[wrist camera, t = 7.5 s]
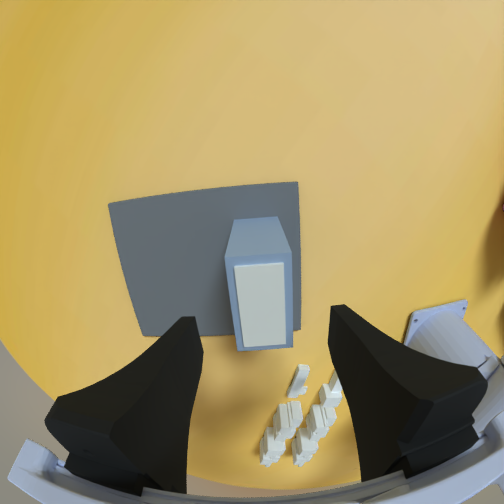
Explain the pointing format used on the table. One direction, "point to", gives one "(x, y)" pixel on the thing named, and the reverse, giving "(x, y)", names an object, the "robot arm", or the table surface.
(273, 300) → the block
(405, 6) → the table surface
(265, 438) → the modular blocks
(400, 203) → the table surface
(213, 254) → the mat
